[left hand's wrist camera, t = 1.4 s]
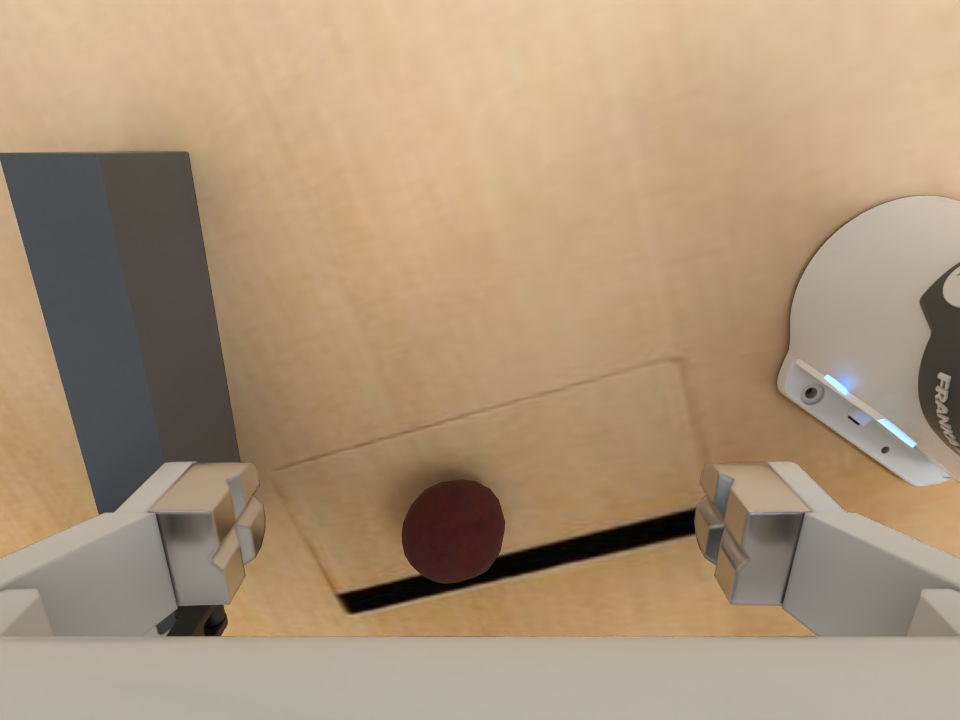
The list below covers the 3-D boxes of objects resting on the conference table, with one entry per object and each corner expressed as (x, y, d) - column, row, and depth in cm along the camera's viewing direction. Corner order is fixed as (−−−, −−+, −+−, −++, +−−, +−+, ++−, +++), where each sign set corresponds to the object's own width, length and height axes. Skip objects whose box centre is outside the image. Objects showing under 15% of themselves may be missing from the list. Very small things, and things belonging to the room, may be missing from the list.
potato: (389, 504, 45) (374, 566, 38) (456, 442, 43) (452, 496, 36) (457, 557, 47) (453, 624, 40) (524, 499, 45) (532, 560, 38)
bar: (113, 151, 36) (-3, 152, 27) (188, 151, 36) (96, 153, 27) (188, 508, 45) (120, 592, 37) (248, 508, 45) (194, 592, 37)
